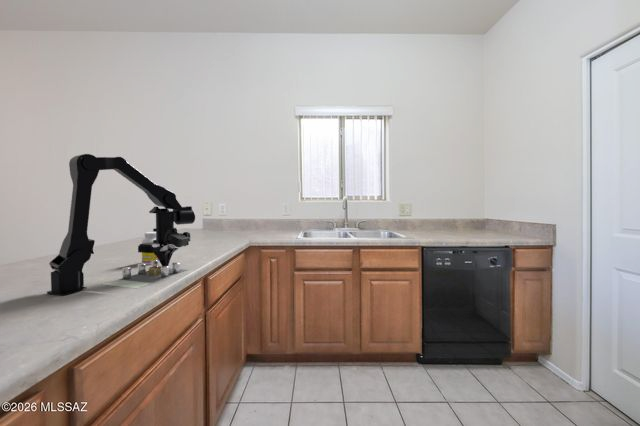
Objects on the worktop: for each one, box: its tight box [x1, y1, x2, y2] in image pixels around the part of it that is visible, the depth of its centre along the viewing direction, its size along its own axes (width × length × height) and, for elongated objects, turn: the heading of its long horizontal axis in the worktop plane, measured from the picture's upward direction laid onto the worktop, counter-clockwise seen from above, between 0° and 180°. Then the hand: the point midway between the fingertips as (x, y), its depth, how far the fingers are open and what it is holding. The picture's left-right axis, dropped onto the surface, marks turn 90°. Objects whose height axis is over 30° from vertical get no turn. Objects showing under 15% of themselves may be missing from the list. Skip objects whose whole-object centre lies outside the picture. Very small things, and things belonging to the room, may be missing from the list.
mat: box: [101, 267, 188, 289], centre depth 100 cm, size 23×13×1 cm, turn 166°
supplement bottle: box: [141, 231, 161, 266], centre depth 121 cm, size 7×7×13 cm
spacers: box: [121, 260, 181, 279], centre depth 102 cm, size 14×12×4 cm
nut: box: [148, 265, 162, 276], centre depth 103 cm, size 4×5×2 cm
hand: (165, 268), depth 108 cm, fingers closed
